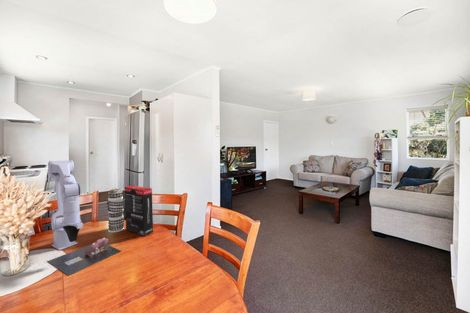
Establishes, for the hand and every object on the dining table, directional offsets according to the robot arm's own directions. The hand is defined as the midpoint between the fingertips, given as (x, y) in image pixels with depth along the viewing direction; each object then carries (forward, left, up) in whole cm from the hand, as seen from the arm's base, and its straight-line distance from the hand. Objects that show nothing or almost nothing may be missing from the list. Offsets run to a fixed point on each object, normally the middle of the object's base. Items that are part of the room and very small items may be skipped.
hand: (72, 240), depth 93 cm
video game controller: (0, +10, -9) cm, 14 cm away
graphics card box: (-3, +35, -10) cm, 36 cm away
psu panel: (0, +5, -9) cm, 11 cm away
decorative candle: (-18, +30, -10) cm, 36 cm away
